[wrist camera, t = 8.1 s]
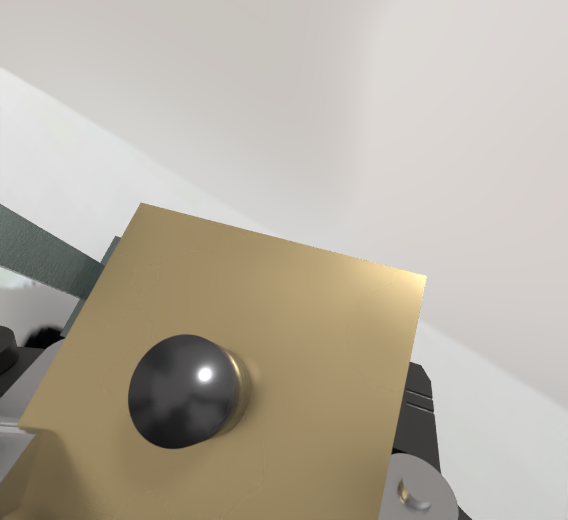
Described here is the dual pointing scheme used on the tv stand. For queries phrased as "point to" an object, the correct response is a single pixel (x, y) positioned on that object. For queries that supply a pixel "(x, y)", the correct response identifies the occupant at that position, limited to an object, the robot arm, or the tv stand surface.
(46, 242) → the arbor press
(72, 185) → the tv stand surface
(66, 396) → the block
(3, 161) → the tv stand surface
